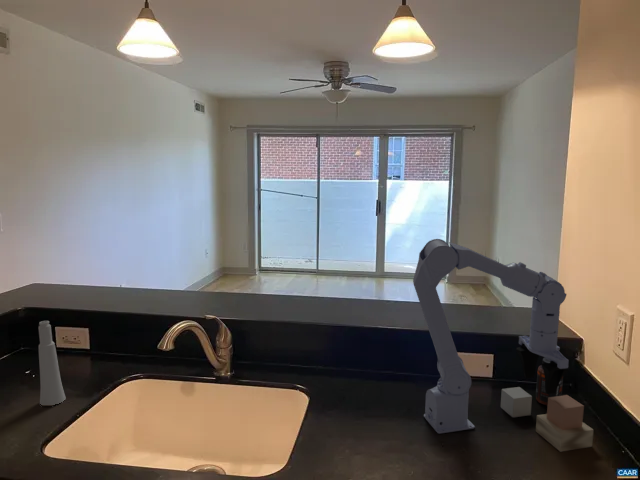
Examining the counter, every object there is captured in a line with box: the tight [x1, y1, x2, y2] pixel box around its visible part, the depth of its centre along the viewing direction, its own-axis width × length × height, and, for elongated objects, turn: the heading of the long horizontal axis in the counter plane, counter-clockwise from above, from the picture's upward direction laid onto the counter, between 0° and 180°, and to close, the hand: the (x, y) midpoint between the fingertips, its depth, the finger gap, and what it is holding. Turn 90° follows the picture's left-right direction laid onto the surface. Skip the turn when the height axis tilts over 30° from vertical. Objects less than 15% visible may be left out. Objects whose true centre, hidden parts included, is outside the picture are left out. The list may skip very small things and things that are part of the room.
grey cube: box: [500, 386, 533, 418], centre depth 117 cm, size 5×5×5 cm
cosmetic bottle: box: [38, 320, 67, 406], centre depth 123 cm, size 6×6×22 cm
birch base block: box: [535, 413, 594, 453], centre depth 106 cm, size 8×8×4 cm
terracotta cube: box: [546, 394, 585, 430], centre depth 105 cm, size 5×5×5 cm
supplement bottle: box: [535, 357, 564, 407], centre depth 121 cm, size 6×6×11 cm
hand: (539, 384), depth 110 cm, fingers open, 7 cm apart
